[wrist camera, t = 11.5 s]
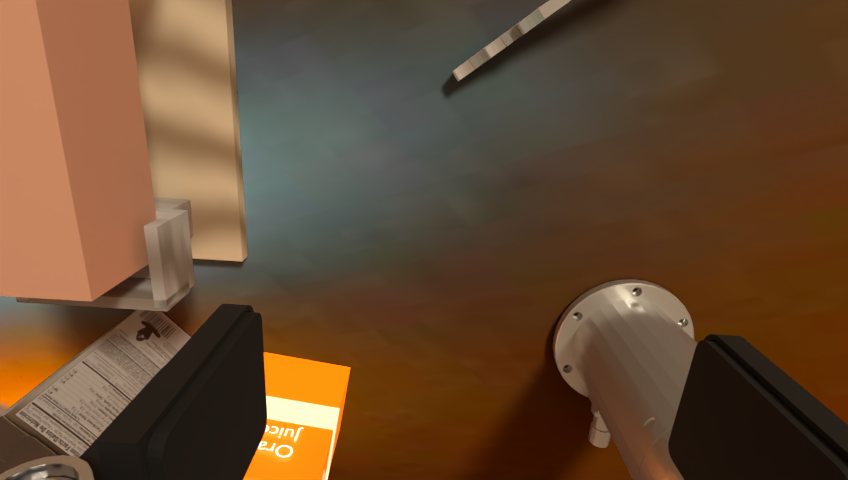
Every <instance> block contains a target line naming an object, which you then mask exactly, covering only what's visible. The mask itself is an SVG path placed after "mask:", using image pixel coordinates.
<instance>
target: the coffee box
mask: <svg viewBox="0 0 848 480" xmlns="http://www.w3.org/2000/svg"><path fill="white" fill-rule="evenodd" d="M190 338H191V337H190V336H189V335H188V334H187V333H186V332H184V331H183V330H182V329H181V328H180V327H179V326H178V325H177V324H175V323H174V322H173V321H172V320H171V319H170V318H169V317H167V316H166V315H165V314H164V313H163V312H162V311H152V310H134V311H133V312H132V313H131V314H129V315H128V316H127V317H125V318H124V319H123V320H121V321H120V322H119V323H118V324H116V325H115V326H114V327H112V328H111V329H110V330H109V331H107V332H106V333H105V334H103V335H102V336H101V337H100V338H98V339H97V340H96V341H94V342H93V343H92V344H91V345H89V346H88V347H87V348H85V349H84V350H83V351H81V352H80V353H79V354H78V355H76V356H75V357H74V358H72V359H71V360H70V361H69V362H67V363H66V364H65V365H63V366H62V367H61V368H60V369H58V370H57V371H56V372H54V373H53V374H52V375H51V376H49V377H48V378H47V379H46V380H44V381H43V382H42V383H40V384H39V385H38V386H37V387H35V388H34V389H33V390H32V391H30V392H29V393H28V394H27V395H25V396H24V397H23V398H22V399H20V400H19V401H18V402H17V403H15V404H14V405H13V406H11V407H10V408H9V409H8V410H6V411H5V412H4V413H3V414H1V415H0V474H2V473H3V472H5V471H7V470H9V469H12V468H14V467H16V466H19V465H21V464H23V463H26V462H29V461H33V460H36V459H40V458H44V457H50V456H60V455H66V456H73V457H78V458H79V457H80V456H81V455H82V454H83V453H84V452H85V451H86V450H87V449H88V448H89V446H90V445H91V444H92V443H93V442H94V441H95V440H96V439H97V438H98V437H99V436H100V435H101V433H102V432H103V431H104V430H105V429H106V428H107V427H108V426H109V425H110V424H111V423H112V422H113V420H114V419H115V418H116V417H117V416H118V415H119V414H120V413H121V412H122V411H123V410H124V409H125V407H126V406H127V405H128V404H129V403H130V402H131V401H132V400H133V399H134V398H135V397H136V396H137V394H138V393H139V392H140V391H141V390H142V389H143V388H144V387H145V386H146V385H147V384H148V383H149V381H150V380H151V379H152V378H153V377H154V376H155V375H156V374H157V373H158V372H159V371H160V370H161V369H162V368H163V367H164V366H165V365H166V364H167V363H168V362H169V361H170V360H171V359H172V358H173V357H174V356H175V354H176V353H177V352H178V351H179V350H180V349H181V348H182V347H183V346H184V345H185V344H186V342H187V341H188V340H189V339H190Z"/></svg>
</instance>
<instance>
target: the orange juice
mask: <svg viewBox="0 0 848 480" xmlns="http://www.w3.org/2000/svg"><path fill="white" fill-rule="evenodd" d="M264 368H265V386H266V405H267V424H266V429H265V433H264V436H263V438H262V440H261V442H260V444H259V446H258V449H257V451H256V453H255V455H254V457H253V459H252V462H251V464H250V466H249V468H248V470H247V472H246V474H245V477H244V479H243V480H327V479H328V475H329V469H330V465H331V461H332V457H333V454H334V450H335V446H336V442H337V438H338V434H339V430H340V425H341V419H342V413H343V408H344V402H345V396H346V390H347V385H348V379H349V373H350V367H345V366H339V365H334V364H328V363H322V362H317V361H311V360H305V359H300V358H294V357H288V356H283V355H277V354H272V353H266V352H264Z"/></svg>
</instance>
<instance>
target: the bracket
mask: <svg viewBox="0 0 848 480" xmlns="http://www.w3.org/2000/svg"><path fill="white" fill-rule="evenodd" d="M569 1H571V0H549V1H547V2H546V3H545V4H543V5H542V6H541V7H539V8H538V9H537V10H535V11H534V12H532V13H531V14H530V15H528V16H527V17H526V18H524V19H523V20H522V21H520V22H519V23H517V24H516V25H515V26H513V27H512V28H511V29H509V30H508V31H507V32H505V33H504V34H502V35H501V36H500V37H498V38H497V39H496V40H494V41H493V42H492V43H490V44H489V45H487V46H486V47H485V48H483V49H482V50H481V51H479V52H478V53H477V54H475V55H474V56H473V57H471V58H470V59H468V60H467V61H466V62H464V63H463V64H462V65H460V66H459V67H458V68H456V69H455V70H454V71H453V72H452V73H453V74H454V76H455V78H456V79H457V81H460V80H461V79H462V78H464V77H465V76H466V75H468V74H469V73H471V72H472V71H473V70H475V69H476V68H478V67H479V66H480V65H482V64H483V63H484V62H486V61H487V60H489V59H490V58H492V57H493V56H494V55H496V54H497V53H498V52H500V51H501V50H503V49H504V48H505V47H507V46H508V45H510V44H511V43H512V42H514V41H515V40H516V39H518V38H519V37H521V36H522V35H524V34H525V33H527V32H528V31H529V30H531V29H532V28H533V27H535V26H536V25H537V24H539V23H540V22H541V21H543V20H544V19H546V18H547V17H548V16H550V15H551V14H553V13H554V12H555V11H557V10H558V9H560V8H561V7H562V6H564V5H565V4H567V3H568V2H569Z"/></svg>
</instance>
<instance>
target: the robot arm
mask: <svg viewBox="0 0 848 480" xmlns="http://www.w3.org/2000/svg"><path fill="white" fill-rule="evenodd" d="M634 288H635V289H634ZM633 289H634V290H633ZM576 312H577V313H576ZM574 313H576V314H574ZM553 354H554V359H555V362H556V365H557V367H558V370H559V371H560V373H561V375H562V377H563V379H564V380H565V381H566V382H567V383H568V384H569V386H570V387H572V388H573V389H574V390H576V391H577V392H578V393H579V394H582V395H584V396H586V397H588V398H589V399H590V401H591V403H592V405H591V412H592V413H593V415H594V416H593V420H592V422H591V426H590V430H589V435H588V440H589V442H590V443H592V444H593V445H594V446H597V447H600V448H605V447H607V446H608V445H609V442H610V438H611V437H612V439H613V441H614V443H615V445H616V447H617V449H618V451H619V453H620V455H621V457H622V459H623V461H624V463H625V465H626V466H627V468H628V470H629V472H630V474H631V476H632V478H633V480H848V425H847V424H846V423H845V422H844V421H842V420H841V419H840V418H839V417H838V416H836V415H835V414H834V413H833V412H832V411H830V410H829V409H828V408H827V407H826V406H824V405H823V404H822V403H821V402H820V401H818V400H817V399H816V398H815V397H814V396H812V395H811V394H810V393H809V392H808V391H806V390H805V389H804V388H803V387H802V386H800V385H799V384H798V383H797V382H795V381H794V380H793V379H792V378H791V377H789V376H788V375H787V374H786V373H785V372H783V371H782V370H781V369H780V368H779V367H777V366H776V365H775V364H774V363H773V362H771V361H770V360H769V359H768V358H767V357H765V356H764V355H763V354H762V353H761V352H759V351H758V350H757V349H756V348H755V347H753V346H752V345H751V344H750V343H749V342H747V341H746V340H745V339H744V338H742V337H740V336H730V335H714V334H711V335H708V336H707V337H706V338H705V339H704V341H700V342H699V343H698V344H697V343H696V342H695V341H694V327H693V324H692V320H691V317H690V315H689V313H688V311H687V309H686V308H685V306H684V305H683V304H682V303H681V302H680V301H679V300H678V299H677V298H676V297H675V296H674V295H673V294H672V293H670V292H669V291H668V290H666V289H664V288H663V287H661V286H659V285H657V284H654V283H651V282H647V281H643V280H634V279H628V280H616V281H612V282H608V283H604V284H602V285H599V286H597V287H594V288H592V289H590V290H589V291H587V292H586V293H584V294H582V295H581V296H579V297H578V298H577V299H576V300H575V301H574V302H573V303H572V304H571V305H570V306H569V307H568V308H567V309H566V311H565V312H564V313H563V315H562V316H561V318H560V320H559V322H558V324H557V326H556V330H555V333H554V337H553ZM266 424H267V405H266V386H265V368H264V350H263V332H262V317H261V314H260V313H254V311H253V308H252V307H251V306H250V305H234V304H222V305H221V306H220V307H219V308H218V309H217V310H216V311H215V312H214V313H213V314H212V315H211V316H210V317H209V318H208V320H207V321H206V322H205V323H204V324H203V325H202V326H201V327H200V328H199V329H198V330H197V332H196V333H195V334H194V335H193V336H192V337H191V338H190V339H189V340H188V341H187V342H186V344H185V345H184V346H183V347H182V348H181V349H180V350H179V351H178V352H177V353H176V354H175V356H174V357H173V358H172V359H171V360H170V361H169V362H168V363H167V364H166V365H165V366H164V367H163V368H162V369H161V370H160V371H159V372H158V373H157V374H156V375H155V376H154V377H153V378H152V379H151V380H150V381H149V383H148V384H147V385H146V386H145V387H144V388H143V389H142V390H141V391H140V392H139V393H138V394H137V396H136V397H135V398H134V399H133V400H132V401H131V402H130V403H129V404H128V405H127V406H126V407H125V409H124V410H123V411H122V412H121V413H120V414H119V415H118V416H117V417H116V418H115V419H114V420H113V422H112V423H111V424H110V425H109V426H108V427H107V428H106V429H105V430H104V431H103V432H102V433H101V435H100V436H99V437H98V438H97V439H96V440H95V441H94V442H93V443H92V444H91V445H90V446H89V448H88V449H87V450H86V451H85V452H84V453H83V454H82V455H81V456H80V457H79V458H78V457H73V456H66V455H60V456H50V457H44V458H40V459H36V460H33V461H29V462H26V463H23V464H21V465H19V466H16V467H14V468H12V469H9V470H7V471H5V472H3V473H2V474H0V480H243V479H244V477H245V474H246V472H247V470H248V468H249V466H250V464H251V462H252V459H253V457H254V455H255V453H256V451H257V449H258V446H259V444H260V442H261V440H262V438H263V436H264V433H265V429H266Z"/></svg>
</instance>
